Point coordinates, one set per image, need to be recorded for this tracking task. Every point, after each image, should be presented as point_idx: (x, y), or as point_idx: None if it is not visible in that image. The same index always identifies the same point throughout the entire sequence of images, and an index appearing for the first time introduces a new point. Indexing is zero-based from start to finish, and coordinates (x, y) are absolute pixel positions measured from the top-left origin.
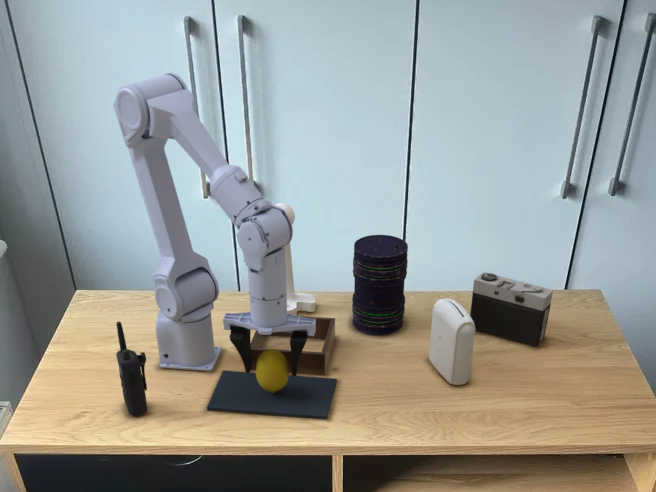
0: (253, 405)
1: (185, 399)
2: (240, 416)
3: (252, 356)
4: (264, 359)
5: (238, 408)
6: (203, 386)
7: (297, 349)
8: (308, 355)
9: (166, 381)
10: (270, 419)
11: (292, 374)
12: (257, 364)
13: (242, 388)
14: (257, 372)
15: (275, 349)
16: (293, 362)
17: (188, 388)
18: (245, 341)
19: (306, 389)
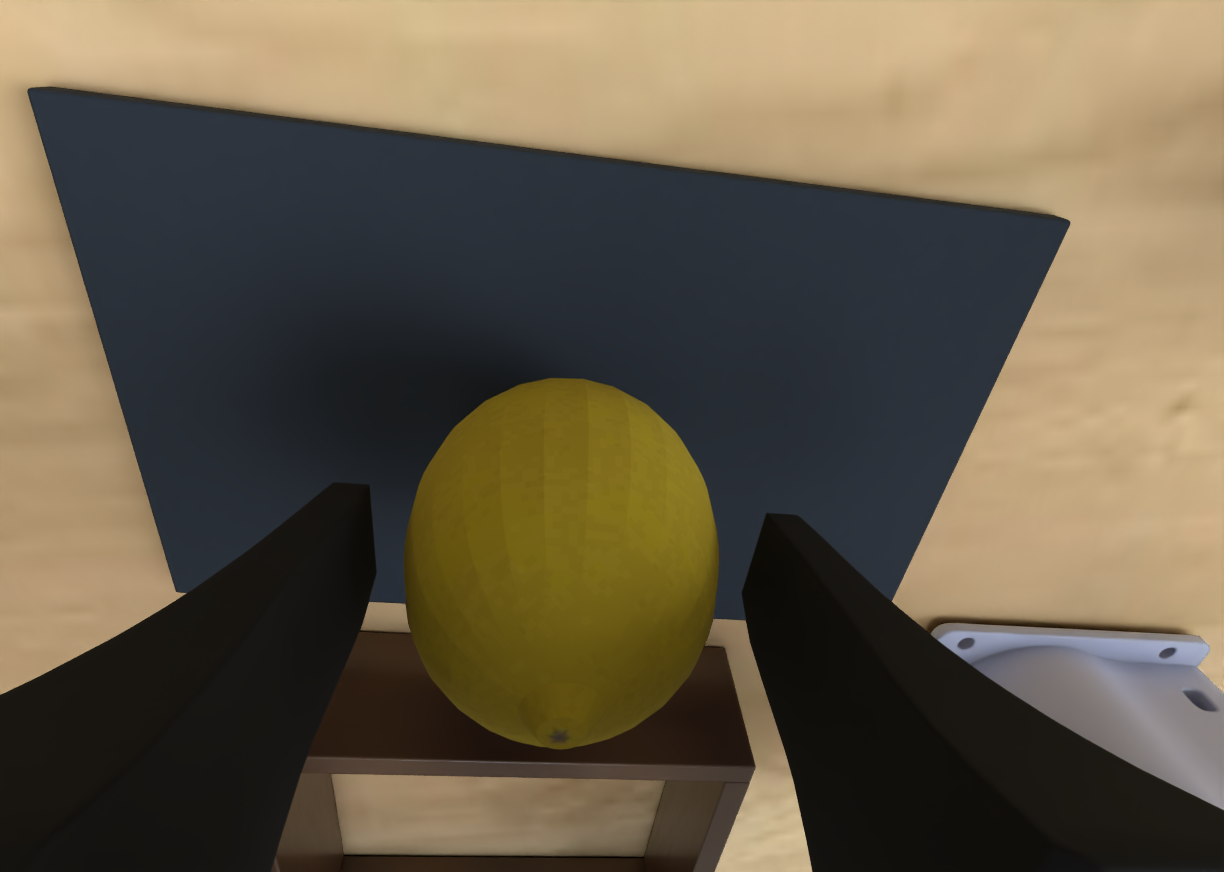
0: (706, 258)
1: (1160, 355)
2: (808, 132)
3: (720, 720)
4: (636, 597)
5: (827, 209)
6: (1008, 495)
7: (33, 725)
8: (346, 742)
9: (1206, 531)
10: (558, 85)
11: (356, 489)
12: (709, 560)
13: (779, 466)
14: (700, 491)
15: (576, 775)
16: (272, 569)
17: (1103, 472)
18: (951, 828)
19: (339, 474)
